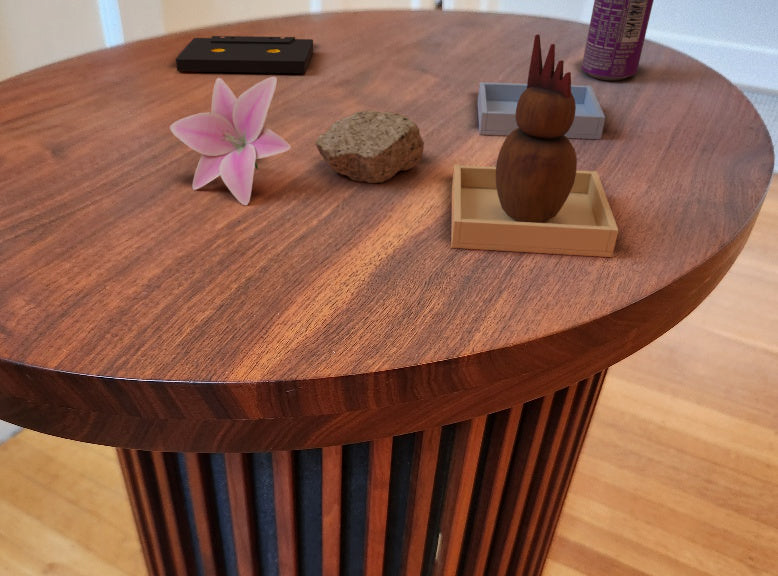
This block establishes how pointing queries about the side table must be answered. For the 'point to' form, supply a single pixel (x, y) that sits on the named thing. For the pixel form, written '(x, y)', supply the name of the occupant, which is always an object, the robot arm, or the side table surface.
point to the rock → (371, 145)
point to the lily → (232, 137)
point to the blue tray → (502, 102)
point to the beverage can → (616, 38)
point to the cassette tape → (246, 54)
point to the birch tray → (503, 233)
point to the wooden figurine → (539, 145)
